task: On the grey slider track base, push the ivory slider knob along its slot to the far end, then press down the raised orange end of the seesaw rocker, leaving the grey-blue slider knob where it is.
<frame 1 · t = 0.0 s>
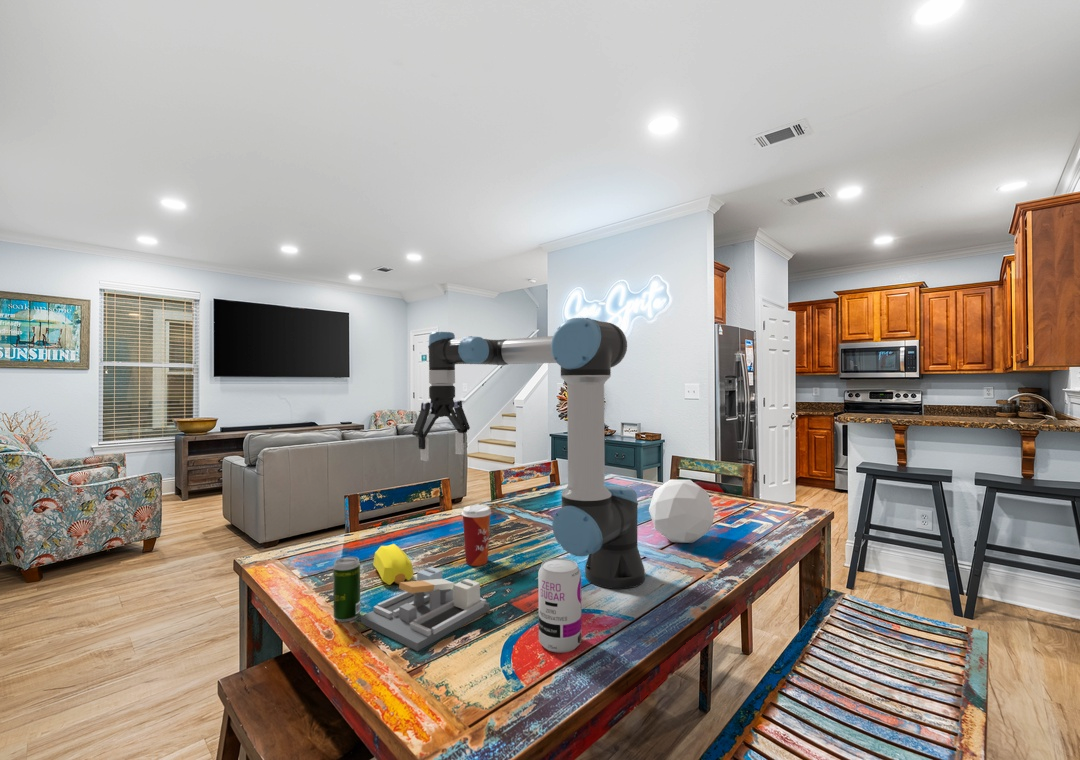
hand: (442, 457, 143), 28 cm above the table, fingers open, 13 cm apart
slider b: (429, 580, 113), point 4 cm above the table, slide at 0.0 cm
beer can: (347, 617, 105), on the table
slider a: (466, 593, 106), point 4 cm above the table, slide at 0.0 cm
rocker: (427, 587, 104), point 6 cm above the table, hinge at 15.0°
supplement can: (560, 643, 94), on the table
coffee cup: (476, 562, 135), on the table
geometric orb: (681, 541, 152), on the table
yellow faceted dome: (392, 575, 127), on the table
grey slider track base: (426, 616, 104), on the table
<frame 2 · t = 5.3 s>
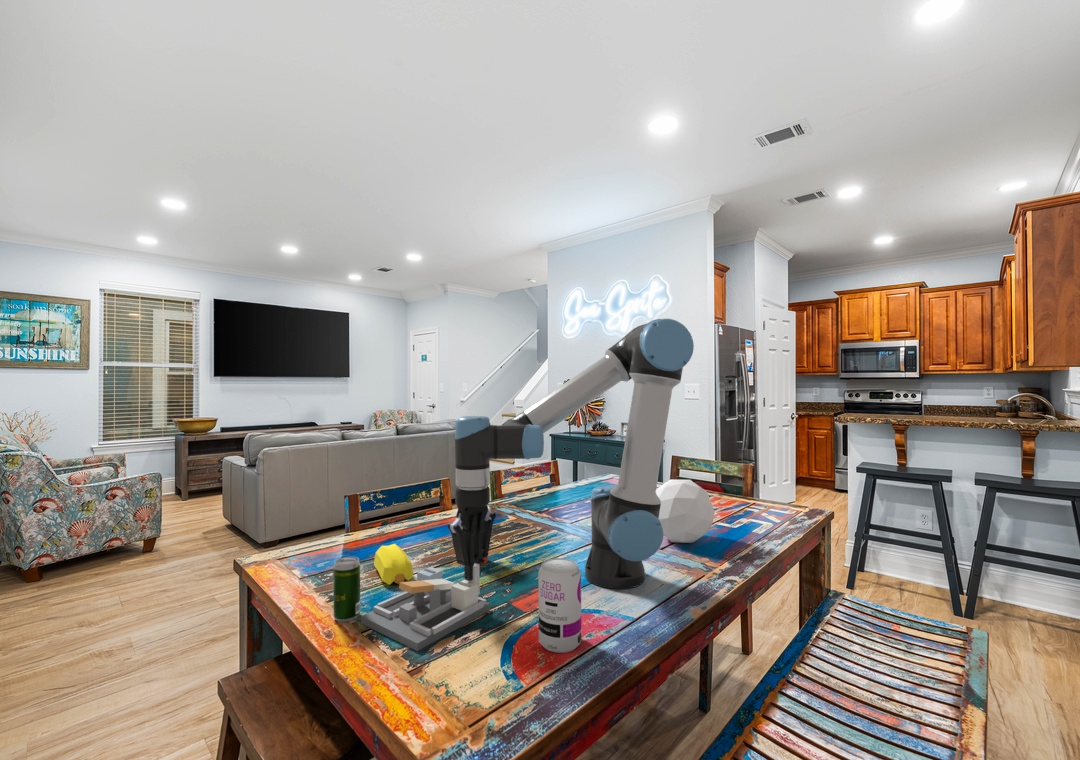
hand: (472, 593, 107), 4 cm above the table, fingers closed
slider a: (464, 594, 105), point 4 cm above the table, slide at 0.7 cm, touching gripper
everything else where it was.
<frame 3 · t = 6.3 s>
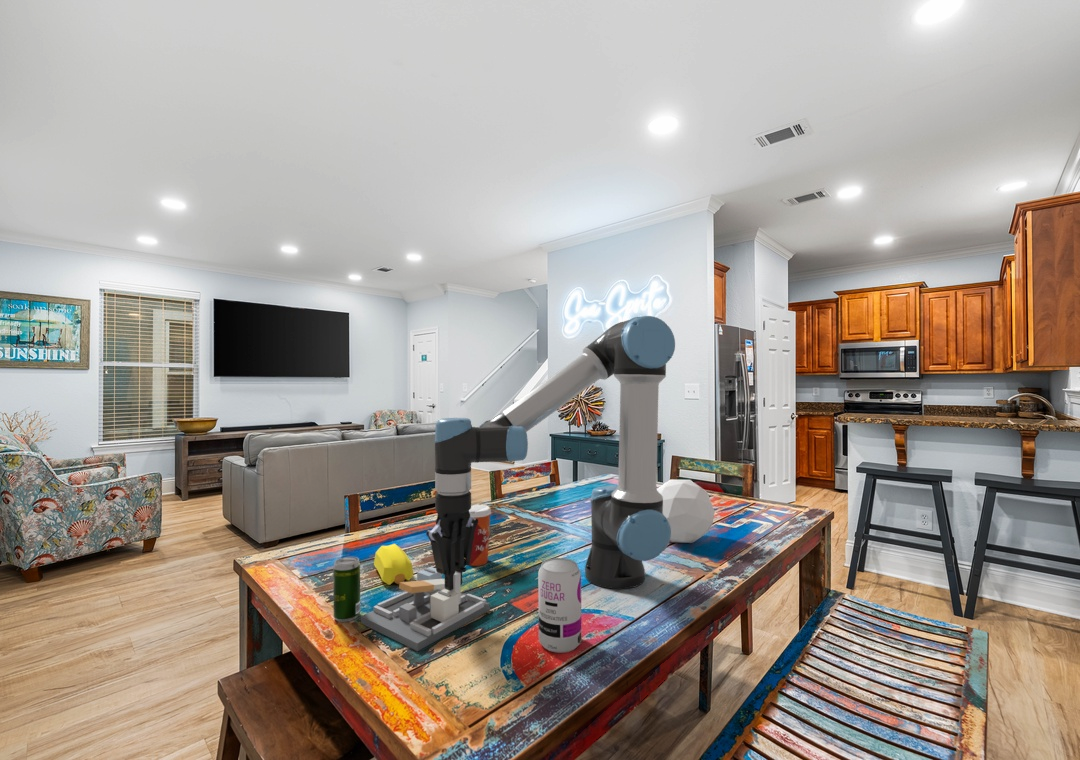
hand: (453, 602, 103), 4 cm above the table, fingers closed
slider a: (444, 604, 100), point 4 cm above the table, slide at 6.4 cm, touching gripper
everything else where it was.
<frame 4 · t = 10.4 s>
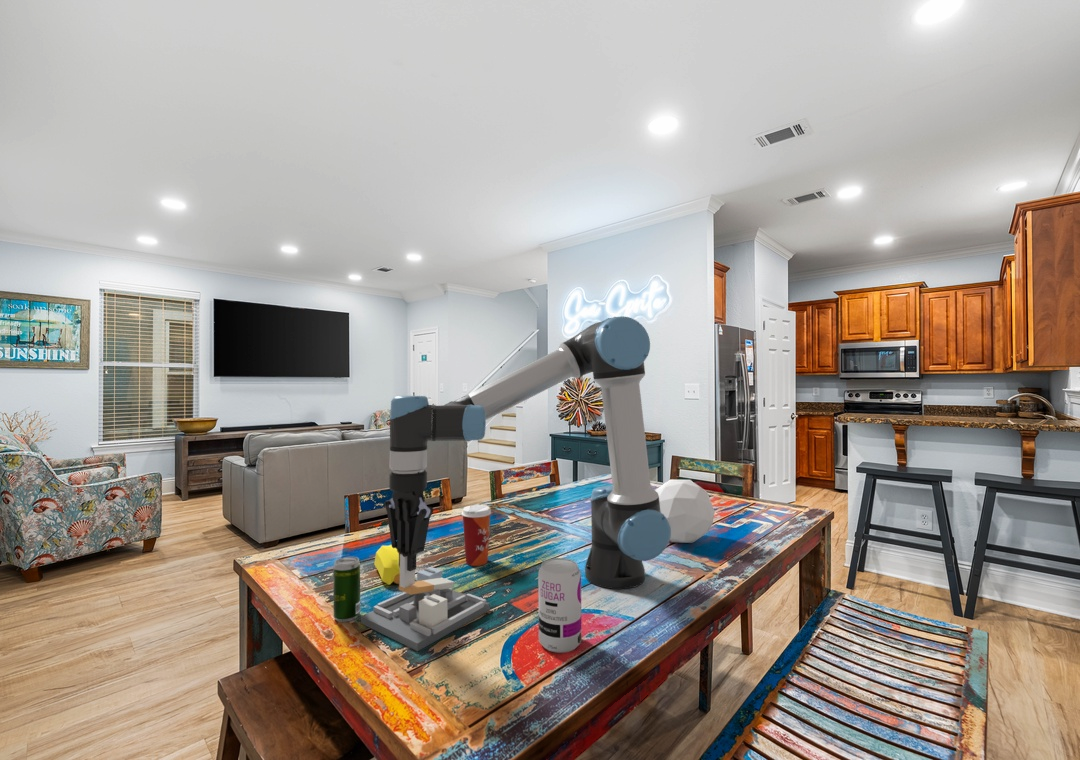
hand: (407, 584, 100), 9 cm above the table, fingers closed
slider a: (433, 610, 98), point 4 cm above the table, slide at 9.5 cm
rocker: (427, 587, 104), point 6 cm above the table, hinge at 12.7°, touching gripper
everything else where it was.
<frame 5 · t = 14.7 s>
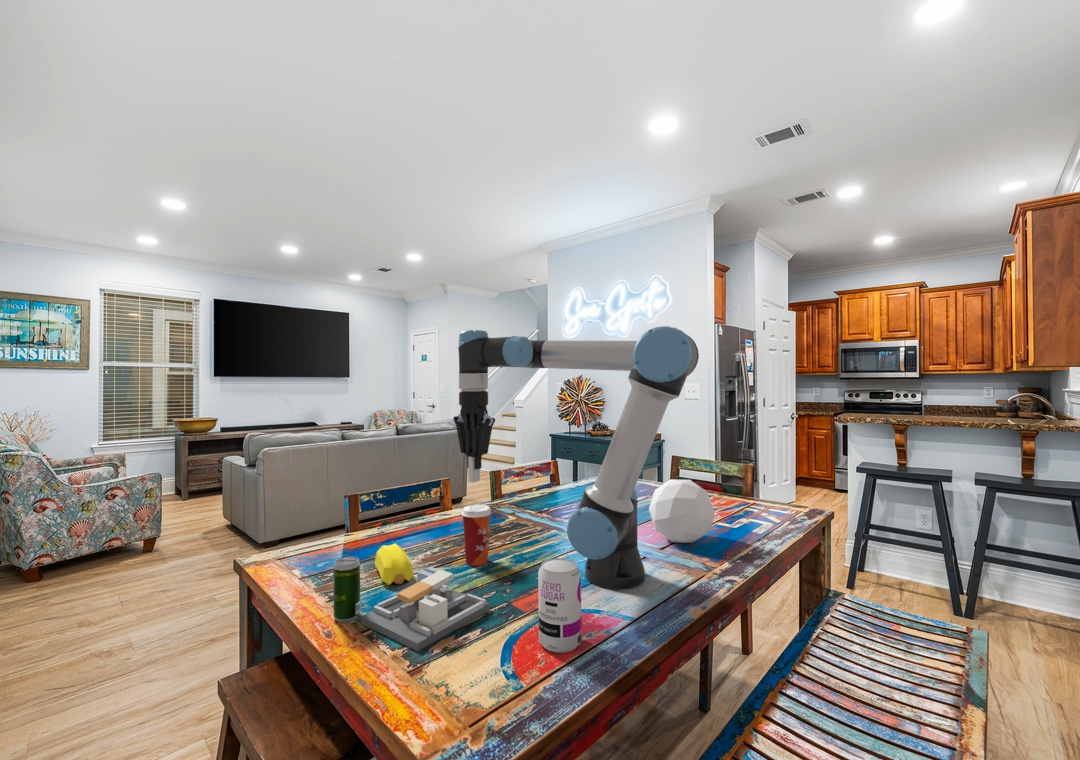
hand: (474, 481, 126), 24 cm above the table, fingers closed
rocker: (426, 587, 104), point 6 cm above the table, hinge at -5.1°
everything else where it was.
at the end: slider a slide at 9.5 cm; slider b slide at 0.0 cm; rocker at -5° (first picture: +15°) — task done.
